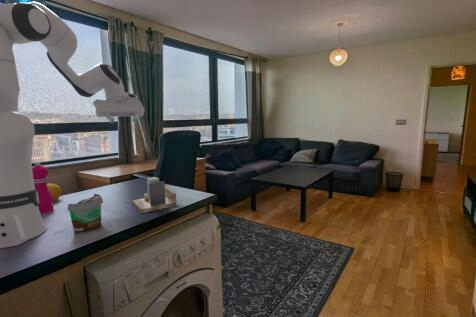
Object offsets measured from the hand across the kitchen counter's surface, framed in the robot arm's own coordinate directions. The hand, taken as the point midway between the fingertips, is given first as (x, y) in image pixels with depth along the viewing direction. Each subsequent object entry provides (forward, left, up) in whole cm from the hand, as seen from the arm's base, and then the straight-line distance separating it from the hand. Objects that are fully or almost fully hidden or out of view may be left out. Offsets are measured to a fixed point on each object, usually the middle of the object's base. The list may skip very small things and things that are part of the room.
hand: (123, 121), depth 119 cm
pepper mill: (-32, +1, -35) cm, 47 cm away
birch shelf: (+6, -18, -34) cm, 39 cm away
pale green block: (+6, -19, -33) cm, 38 cm away
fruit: (-30, +16, -35) cm, 49 cm away
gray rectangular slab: (+6, -23, -33) cm, 41 cm away
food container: (-18, -29, -35) cm, 49 cm away
